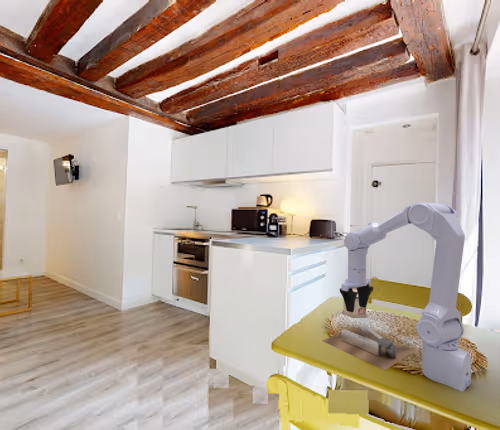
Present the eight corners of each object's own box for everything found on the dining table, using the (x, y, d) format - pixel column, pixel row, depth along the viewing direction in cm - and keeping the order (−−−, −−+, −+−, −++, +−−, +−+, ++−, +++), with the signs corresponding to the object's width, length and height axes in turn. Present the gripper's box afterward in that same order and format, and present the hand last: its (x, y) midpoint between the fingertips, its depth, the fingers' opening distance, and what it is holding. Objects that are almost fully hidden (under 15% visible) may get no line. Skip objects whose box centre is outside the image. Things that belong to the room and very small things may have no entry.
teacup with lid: (362, 321, 104) (362, 291, 104) (339, 315, 110) (339, 287, 110) (371, 313, 113) (371, 285, 113) (349, 308, 119) (350, 281, 119)
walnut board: (415, 353, 79) (416, 350, 79) (384, 374, 68) (384, 370, 68) (354, 330, 95) (354, 327, 95) (321, 343, 85) (321, 340, 85)
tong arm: (397, 358, 74) (397, 347, 74) (389, 358, 74) (389, 347, 74) (367, 334, 89) (367, 325, 89) (360, 334, 89) (360, 325, 89)
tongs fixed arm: (393, 356, 75) (393, 341, 75) (387, 359, 73) (387, 344, 73) (347, 337, 87) (347, 324, 87) (341, 339, 85) (341, 326, 85)
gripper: (357, 264, 97) (357, 302, 97) (333, 268, 89) (333, 310, 89) (376, 267, 92) (376, 307, 92) (352, 272, 83) (352, 316, 83)
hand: (356, 309), depth 90 cm, fingers open, 7 cm apart
